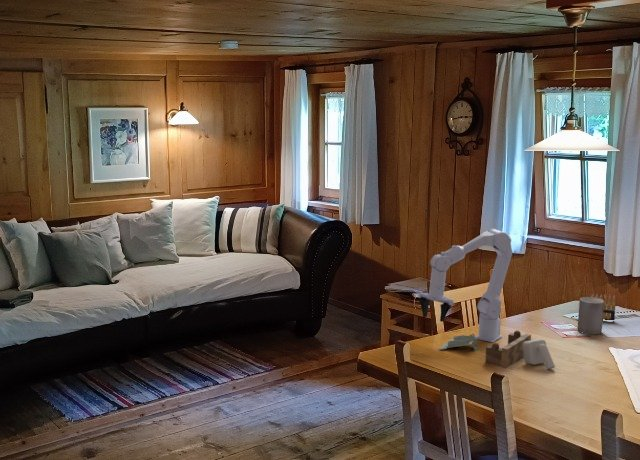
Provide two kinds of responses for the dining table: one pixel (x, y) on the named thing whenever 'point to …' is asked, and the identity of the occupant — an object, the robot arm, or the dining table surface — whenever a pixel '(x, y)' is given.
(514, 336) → the brown crenellated block
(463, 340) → the metal bracket
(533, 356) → the grey chunky block
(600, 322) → the pillar candle
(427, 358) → the dining table surface
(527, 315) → the dining table surface
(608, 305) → the ammunition clip
